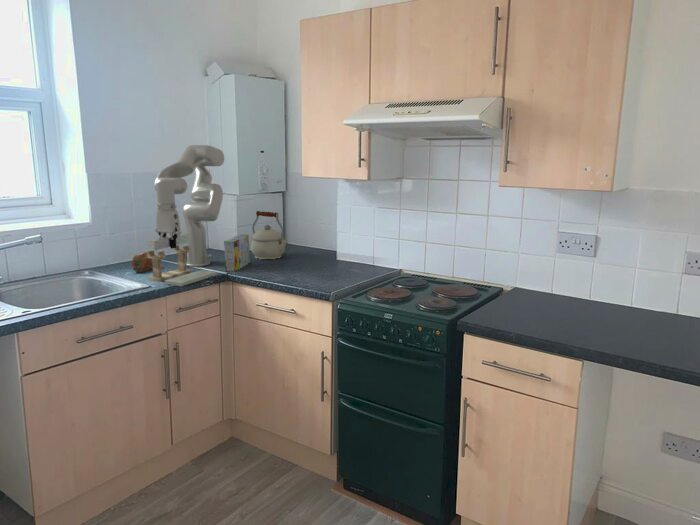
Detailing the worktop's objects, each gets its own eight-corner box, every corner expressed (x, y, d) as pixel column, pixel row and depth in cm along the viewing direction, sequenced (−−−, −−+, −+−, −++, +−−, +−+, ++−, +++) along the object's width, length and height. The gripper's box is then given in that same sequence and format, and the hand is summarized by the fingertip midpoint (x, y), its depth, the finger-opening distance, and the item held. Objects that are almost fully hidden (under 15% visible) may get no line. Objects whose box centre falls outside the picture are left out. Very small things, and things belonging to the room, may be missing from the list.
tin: (137, 273, 254) (136, 256, 252) (131, 273, 254) (130, 255, 253) (155, 267, 268) (154, 250, 267) (149, 267, 269) (148, 250, 267)
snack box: (240, 262, 281) (239, 234, 278) (250, 263, 280) (249, 234, 277) (224, 271, 260) (223, 240, 257) (235, 272, 259) (234, 240, 256)
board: (201, 273, 256) (201, 270, 256) (217, 275, 252) (217, 271, 252) (165, 284, 234) (165, 280, 234) (181, 286, 231) (181, 282, 231)
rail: (182, 241, 257) (181, 233, 256) (189, 242, 255) (188, 233, 254) (147, 249, 237) (147, 240, 236) (154, 250, 235) (154, 241, 235)
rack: (179, 271, 259) (178, 244, 256) (191, 273, 256) (189, 245, 253) (148, 280, 241) (146, 251, 238) (160, 281, 238) (158, 252, 235)
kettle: (241, 257, 294) (240, 211, 289) (265, 252, 309) (264, 209, 304) (276, 263, 280) (275, 215, 275) (299, 257, 295) (298, 212, 290)
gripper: (187, 207, 242) (189, 247, 246) (158, 205, 249) (161, 244, 253) (175, 209, 236) (178, 250, 240) (145, 207, 242) (149, 247, 246)
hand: (169, 247), depth 246 cm, fingers closed on rail, 4 cm apart
